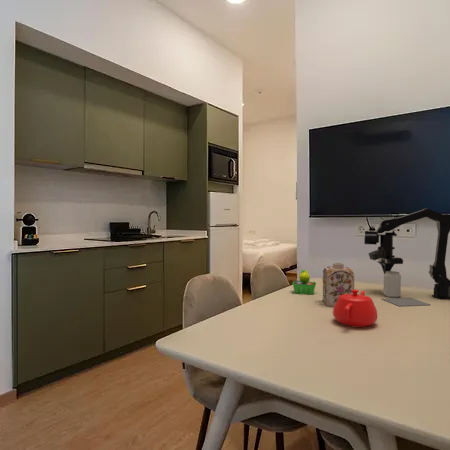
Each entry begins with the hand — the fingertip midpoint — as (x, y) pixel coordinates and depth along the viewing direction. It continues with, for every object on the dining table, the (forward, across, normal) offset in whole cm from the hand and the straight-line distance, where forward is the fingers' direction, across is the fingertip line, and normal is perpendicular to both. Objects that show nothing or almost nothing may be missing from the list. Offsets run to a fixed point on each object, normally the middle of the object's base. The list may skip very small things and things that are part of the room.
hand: (386, 276), depth 176 cm
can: (+9, +5, 0) cm, 11 cm away
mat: (+9, +17, -1) cm, 19 cm away
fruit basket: (+9, -9, -39) cm, 41 cm away
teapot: (+9, +41, -38) cm, 57 cm away
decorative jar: (+9, +14, -32) cm, 36 cm away
